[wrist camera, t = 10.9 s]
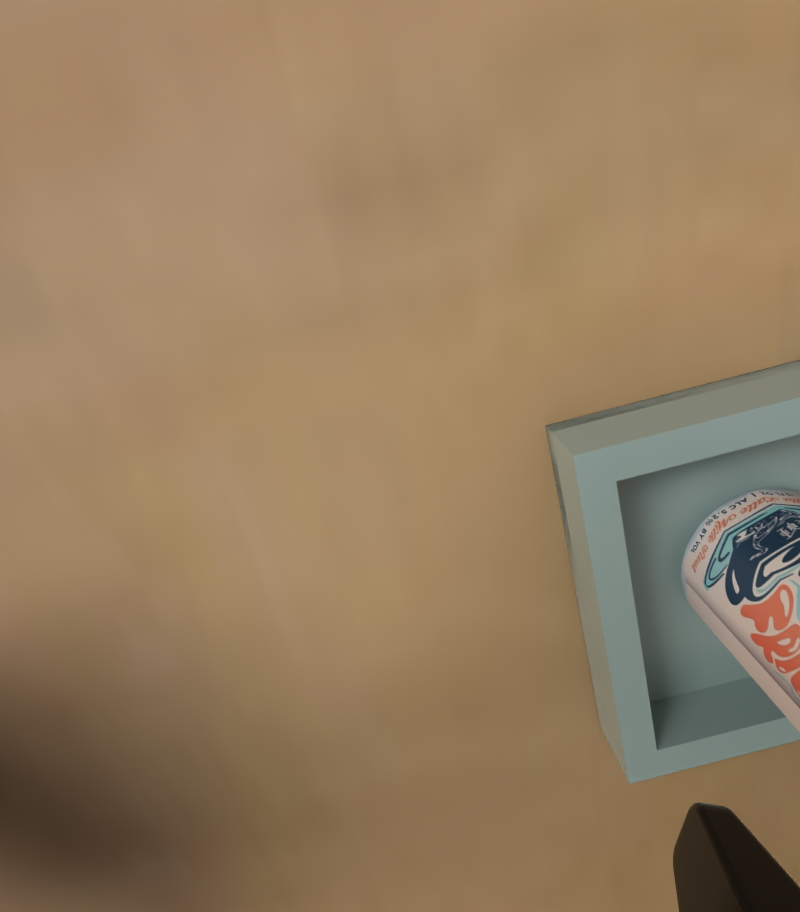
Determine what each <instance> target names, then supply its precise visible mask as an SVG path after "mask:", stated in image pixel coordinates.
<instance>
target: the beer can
mask: <svg viewBox="0 0 800 912" xmlns="http://www.w3.org/2000/svg"><path fill="white" fill-rule="evenodd" d="M681 581H682V587H683V592H684V595H685V597H686V599H687V601H688V604H689V605H690V606H691V608H692V609H693V611H694V612H695V613H696V614H697V615H699V616H700V618H701V619H702V620H703V621H704V622H705V623H706V624H707V626H708V627H709V628H710V629H711V630H712V631H713V633H714V634H715V635H716V636H717V637H718V638H719V640H720V641H721V642H722V643H723V644H724V645H725V647H726V648H727V649H728V650H729V651H730V652H731V654H732V655H733V656H734V657H735V658H736V659H737V660H738V662H739V663H740V664H741V665H742V666H743V667H744V669H745V670H746V671H747V672H748V673H749V674H750V676H751V677H752V678H753V679H754V680H755V681H756V683H757V684H758V685H759V686H760V687H761V688H762V690H763V691H764V692H765V693H766V694H767V695H768V696H769V698H770V699H771V700H772V701H773V702H774V703H775V705H776V706H777V707H778V708H779V709H780V710H781V712H782V713H783V714H784V715H785V716H786V717H787V719H788V720H789V721H790V722H791V723H792V724H793V726H794V727H795V728H796V729H797V730H798V731H799V732H800V492H798V491H795V490H791V489H780V488H764V489H759V490H755V491H751V492H747V493H743V494H741V495H739V496H737V497H735V498H732V499H730V500H728V501H727V502H725V503H724V504H722V505H721V506H719V507H718V508H716V509H715V510H714V511H713V512H712V513H711V514H710V515H709V516H707V518H706V519H705V520H704V521H703V522H702V523H701V524H700V525H699V527H698V528H697V530H696V531H695V533H694V535H693V536H692V538H691V540H690V541H689V543H688V545H687V547H686V550H685V554H684V557H683V561H682V566H681Z"/></svg>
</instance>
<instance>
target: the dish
mask: <svg viewBox="0 0 800 912" xmlns="http://www.w3.org/2000/svg"><path fill="white" fill-rule="evenodd" d="M546 431H547V437H548V442H549V448H550V453H551V459H552V464H553V470H554V475H555V481H556V486H557V491H558V497H559V502H560V508H561V513H562V519H563V524H564V530H565V535H566V541H567V546H568V552H569V557H570V563H571V568H572V574H573V579H574V585H575V590H576V596H577V601H578V607H579V612H580V618H581V623H582V629H583V634H584V640H585V645H586V651H587V656H588V661H589V667H590V672H591V678H592V683H593V689H594V694H595V700H596V705H597V711H598V716H599V722H600V727H601V729H602V731H603V733H604V735H605V737H606V739H607V741H608V743H609V745H610V747H611V749H612V751H613V753H614V755H615V757H616V759H617V761H618V763H619V765H620V767H621V769H622V771H623V773H624V775H625V777H626V779H627V781H628V783H629V784H631V783H635V782H639V781H643V780H647V779H651V778H654V777H658V776H662V775H666V774H670V773H674V772H678V771H682V770H686V769H689V768H693V767H697V766H701V765H705V764H709V763H713V762H717V761H721V760H724V759H728V758H732V757H736V756H740V755H744V754H748V753H752V752H755V751H759V750H763V749H767V748H771V747H775V746H779V745H783V744H787V743H790V742H794V741H798V740H800V732H799V731H798V730H797V729H796V728H795V727H794V726H793V724H792V723H791V722H790V721H789V720H788V719H787V717H786V716H785V715H784V714H783V713H782V712H781V710H780V709H779V708H778V707H777V706H776V705H775V703H774V702H773V701H772V700H771V699H770V698H769V696H768V695H767V694H766V693H765V692H764V691H763V690H762V688H761V687H760V686H759V685H758V684H757V683H756V681H755V680H754V679H753V678H752V677H751V676H750V674H749V673H748V672H747V671H746V670H745V669H744V667H743V666H742V665H741V664H740V663H739V662H738V660H737V659H736V658H735V657H734V656H733V655H732V654H731V652H730V651H729V650H728V649H727V648H726V647H725V645H724V644H723V643H722V642H721V641H720V640H719V638H718V637H717V636H716V635H715V634H714V633H713V631H712V630H711V629H710V628H709V627H708V626H707V624H706V623H705V622H704V621H703V620H702V619H701V618H700V616H699V615H697V614H696V613H695V612H694V611H693V609H692V608H691V606H690V605H689V604H688V601H687V599H686V597H685V595H684V592H683V587H682V581H681V566H682V561H683V557H684V554H685V550H686V547H687V545H688V543H689V541H690V540H691V538H692V536H693V535H694V533H695V531H696V530H697V528H698V527H699V525H700V524H701V523H702V522H703V521H704V520H705V519H706V518H707V516H709V515H710V514H711V513H712V512H713V511H714V510H715V509H716V508H718V507H719V506H721V505H722V504H724V503H725V502H727V501H728V500H730V499H732V498H735V497H737V496H739V495H741V494H743V493H747V492H751V491H755V490H759V489H764V488H780V489H791V490H795V491H798V492H800V360H798V361H794V362H790V363H786V364H782V365H778V366H775V367H771V368H767V369H763V370H759V371H755V372H751V373H747V374H744V375H740V376H736V377H732V378H728V379H724V380H720V381H717V382H713V383H709V384H705V385H701V386H697V387H693V388H689V389H686V390H682V391H678V392H674V393H670V394H666V395H662V396H658V397H655V398H651V399H647V400H643V401H639V402H635V403H631V404H627V405H624V406H620V407H616V408H612V409H608V410H604V411H600V412H596V413H593V414H589V415H585V416H581V417H577V418H573V419H569V420H566V421H562V422H558V423H554V424H550V425H546Z"/></svg>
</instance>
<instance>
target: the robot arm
mask: <svg viewBox="0 0 800 912" xmlns="http://www.w3.org/2000/svg"><path fill="white" fill-rule="evenodd" d="M673 869H674V877H675V884H676V891H677V899H678V906H679V912H800V887H799V886H798V885H797V884H796V883H795V882H794V881H793V880H792V878H791V877H790V876H789V875H788V874H787V873H786V872H785V870H784V869H783V868H782V867H781V866H780V865H779V864H778V863H777V861H776V860H775V859H774V858H773V857H772V856H771V855H770V853H769V852H768V851H767V850H766V849H765V848H764V847H763V846H762V844H761V843H760V842H759V841H758V840H757V839H756V838H755V837H754V835H753V834H752V833H751V832H750V831H749V830H748V829H747V827H746V826H745V825H744V824H743V823H742V822H741V821H740V820H739V818H738V817H737V816H736V815H735V814H734V813H733V812H732V811H731V810H729V809H728V808H726V807H724V806H718V805H711V804H704V803H694V804H693V805H692V806H691V807H690V809H689V810H688V813H687V815H686V818H685V821H684V823H683V826H682V829H681V831H680V834H679V837H678V839H677V842H676V844H675V848H674V853H673Z"/></svg>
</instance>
